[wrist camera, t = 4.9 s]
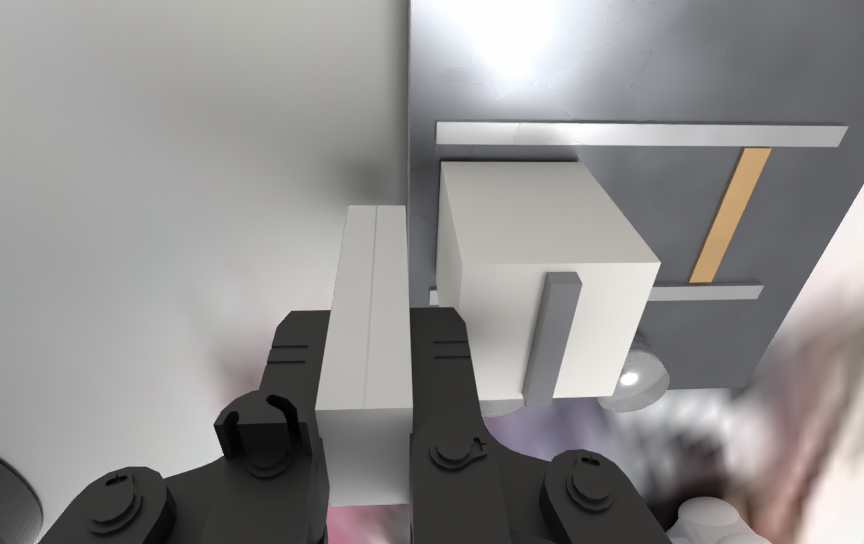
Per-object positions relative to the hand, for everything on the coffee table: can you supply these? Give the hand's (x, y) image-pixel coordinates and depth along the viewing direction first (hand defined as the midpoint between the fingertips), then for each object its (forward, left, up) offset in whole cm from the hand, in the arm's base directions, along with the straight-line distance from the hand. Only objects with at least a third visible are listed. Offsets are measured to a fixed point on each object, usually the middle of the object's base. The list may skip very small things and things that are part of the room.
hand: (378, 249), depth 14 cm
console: (+8, 0, -4) cm, 9 cm away
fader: (+4, 0, -1) cm, 4 cm away
